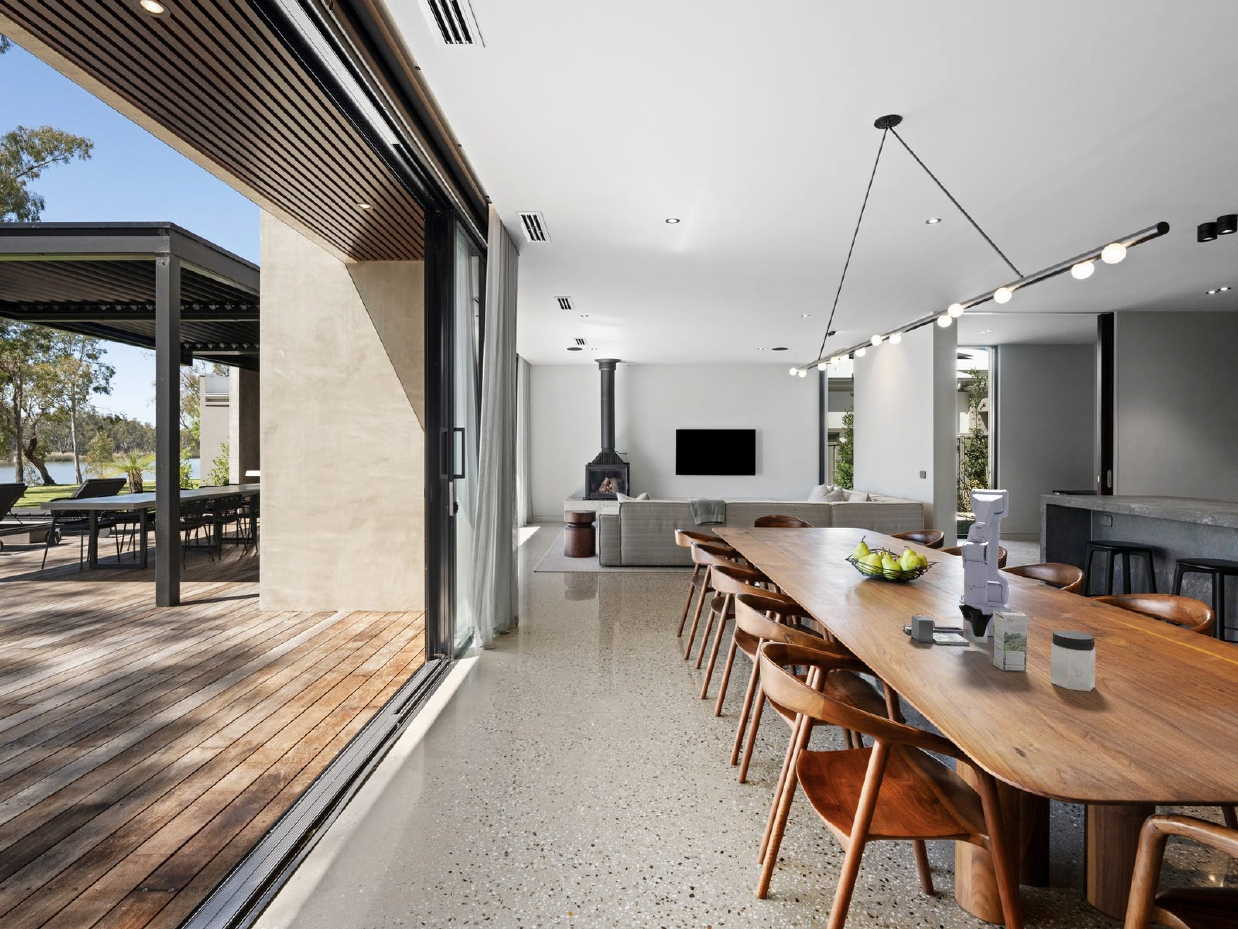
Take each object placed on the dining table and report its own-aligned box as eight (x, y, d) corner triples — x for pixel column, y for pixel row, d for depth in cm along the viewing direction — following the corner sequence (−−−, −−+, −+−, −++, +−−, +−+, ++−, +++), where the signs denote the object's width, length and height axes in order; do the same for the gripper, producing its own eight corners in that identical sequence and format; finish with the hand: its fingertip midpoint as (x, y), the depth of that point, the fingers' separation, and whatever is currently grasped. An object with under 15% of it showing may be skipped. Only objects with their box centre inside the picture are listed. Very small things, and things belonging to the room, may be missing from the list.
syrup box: (1015, 665, 167) (1015, 609, 167) (1027, 672, 161) (1028, 614, 161) (991, 664, 167) (992, 608, 167) (1003, 671, 161) (1003, 614, 161)
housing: (979, 638, 181) (980, 616, 181) (987, 642, 177) (987, 620, 177) (963, 637, 182) (963, 616, 182) (970, 642, 177) (970, 620, 177)
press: (960, 631, 198) (960, 610, 198) (981, 646, 183) (982, 623, 183) (903, 630, 200) (903, 609, 200) (920, 644, 185) (920, 621, 185)
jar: (1056, 689, 150) (1057, 637, 149) (1045, 677, 157) (1045, 628, 157) (1102, 693, 147) (1102, 641, 147) (1088, 681, 155) (1088, 631, 155)
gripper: (950, 579, 187) (949, 626, 187) (972, 590, 172) (971, 641, 172) (975, 580, 186) (975, 627, 186) (999, 591, 171) (999, 641, 172)
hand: (975, 634), depth 179 cm, fingers closed on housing, 4 cm apart
